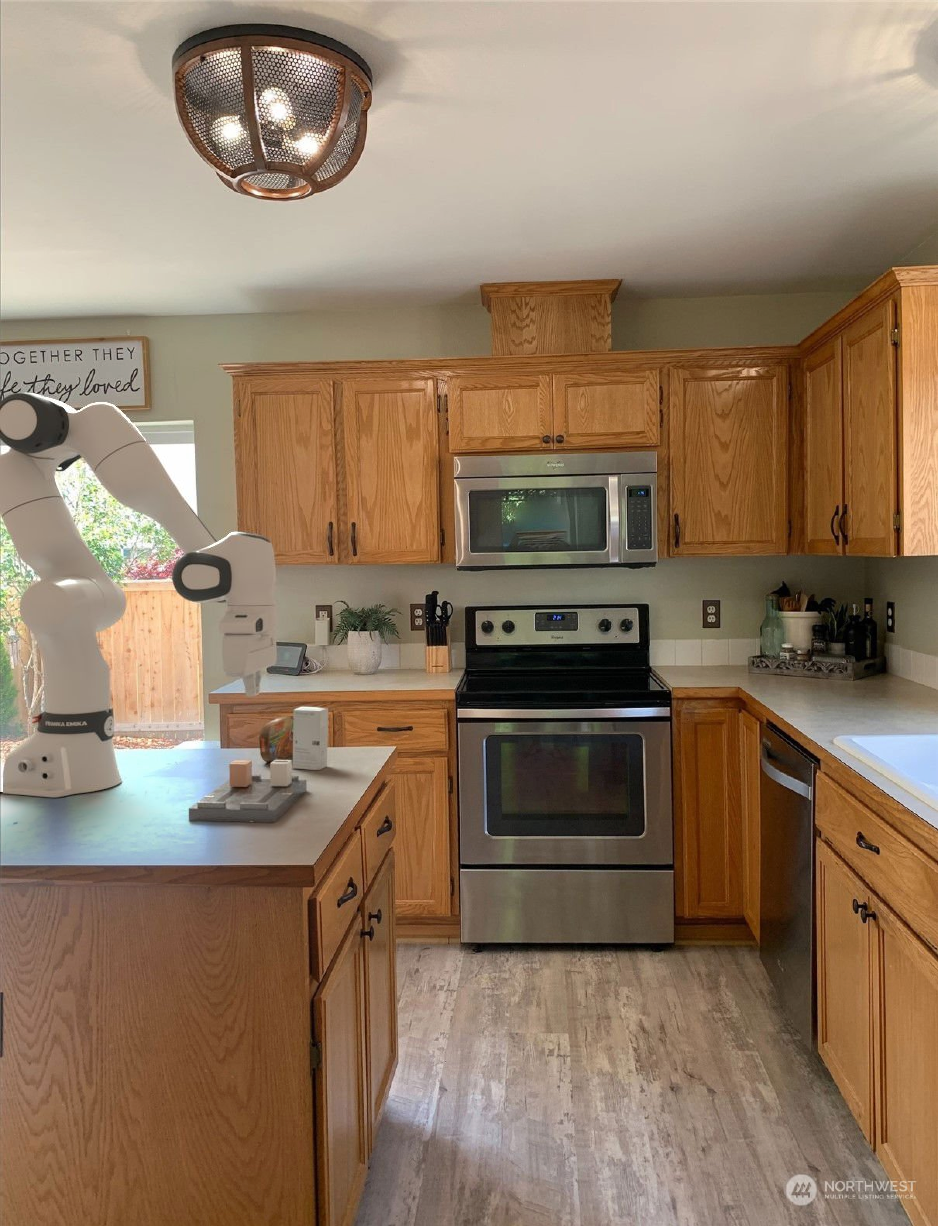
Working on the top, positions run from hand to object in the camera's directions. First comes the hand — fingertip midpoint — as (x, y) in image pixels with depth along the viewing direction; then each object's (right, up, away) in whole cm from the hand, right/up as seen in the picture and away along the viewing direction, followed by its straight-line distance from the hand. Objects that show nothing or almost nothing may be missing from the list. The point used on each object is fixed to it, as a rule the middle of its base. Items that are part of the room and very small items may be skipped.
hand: (252, 695), depth 165 cm
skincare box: (+8, -16, +17) cm, 25 cm away
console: (+3, -18, -11) cm, 21 cm away
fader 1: (-1, -15, -6) cm, 16 cm away
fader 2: (+6, -15, -6) cm, 17 cm away
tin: (-1, -16, +26) cm, 30 cm away
